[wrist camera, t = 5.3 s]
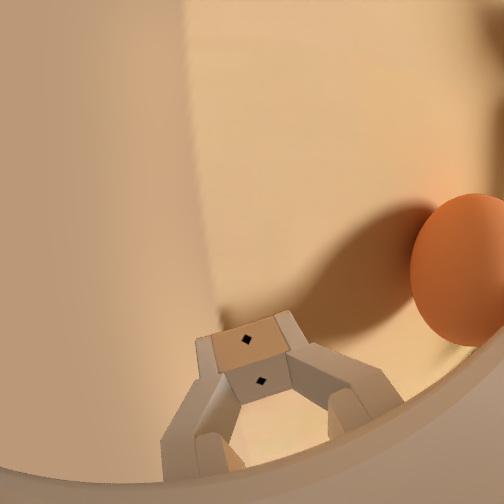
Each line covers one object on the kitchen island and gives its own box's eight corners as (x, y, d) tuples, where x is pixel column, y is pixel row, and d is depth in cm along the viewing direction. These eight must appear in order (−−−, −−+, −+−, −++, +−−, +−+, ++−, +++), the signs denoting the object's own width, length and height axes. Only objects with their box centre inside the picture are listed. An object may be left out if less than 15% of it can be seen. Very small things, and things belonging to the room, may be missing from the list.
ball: (380, 191, 9) (520, 266, 4) (468, 168, 10) (568, 212, 5) (378, 314, 12) (456, 403, 7) (457, 271, 13) (529, 329, 7)
